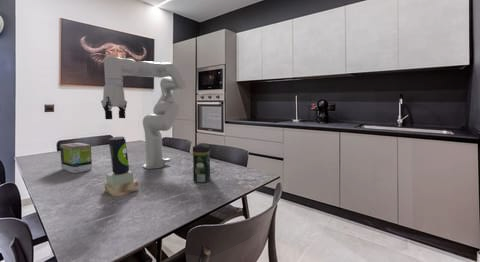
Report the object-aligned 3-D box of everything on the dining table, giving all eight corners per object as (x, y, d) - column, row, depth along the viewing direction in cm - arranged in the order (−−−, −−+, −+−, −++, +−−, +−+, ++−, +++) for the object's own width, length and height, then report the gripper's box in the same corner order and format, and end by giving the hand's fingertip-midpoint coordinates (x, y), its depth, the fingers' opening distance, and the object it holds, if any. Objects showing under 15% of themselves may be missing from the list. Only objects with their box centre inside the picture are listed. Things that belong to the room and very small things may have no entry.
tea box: (93, 169, 134) (91, 144, 132) (73, 173, 125) (71, 146, 124) (80, 165, 142) (78, 141, 140) (60, 169, 134) (59, 143, 132)
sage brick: (126, 177, 106) (125, 168, 105) (133, 181, 100) (132, 172, 100) (107, 182, 100) (105, 173, 99) (113, 187, 95) (112, 177, 94)
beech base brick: (130, 185, 108) (128, 175, 107) (139, 191, 101) (138, 180, 100) (105, 193, 101) (104, 182, 100) (114, 199, 94) (112, 188, 93)
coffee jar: (196, 177, 122) (196, 141, 120) (211, 177, 121) (211, 142, 119) (191, 183, 112) (190, 145, 110) (207, 183, 112) (207, 145, 110)
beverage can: (110, 173, 100) (105, 138, 97) (125, 169, 104) (120, 136, 102) (117, 175, 96) (112, 139, 93) (132, 171, 101) (127, 137, 98)
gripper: (118, 84, 122) (120, 117, 124) (93, 81, 105) (95, 119, 107) (132, 84, 121) (133, 117, 123) (108, 81, 104) (110, 119, 105)
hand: (115, 118), depth 115 cm, fingers open, 9 cm apart
